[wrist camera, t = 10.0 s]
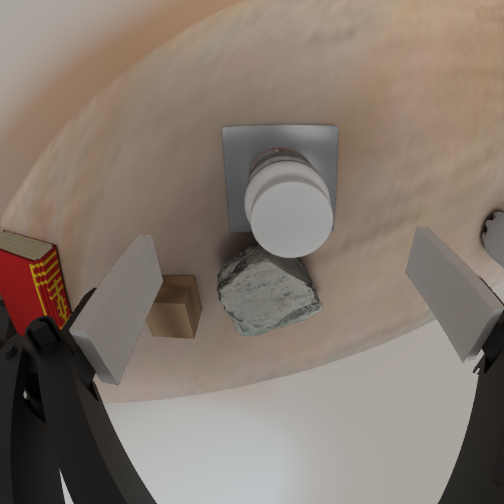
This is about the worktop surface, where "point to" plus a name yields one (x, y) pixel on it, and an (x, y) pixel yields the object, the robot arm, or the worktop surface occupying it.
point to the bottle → (495, 238)
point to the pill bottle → (287, 204)
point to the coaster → (266, 138)
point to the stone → (266, 291)
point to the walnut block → (175, 308)
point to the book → (31, 281)
